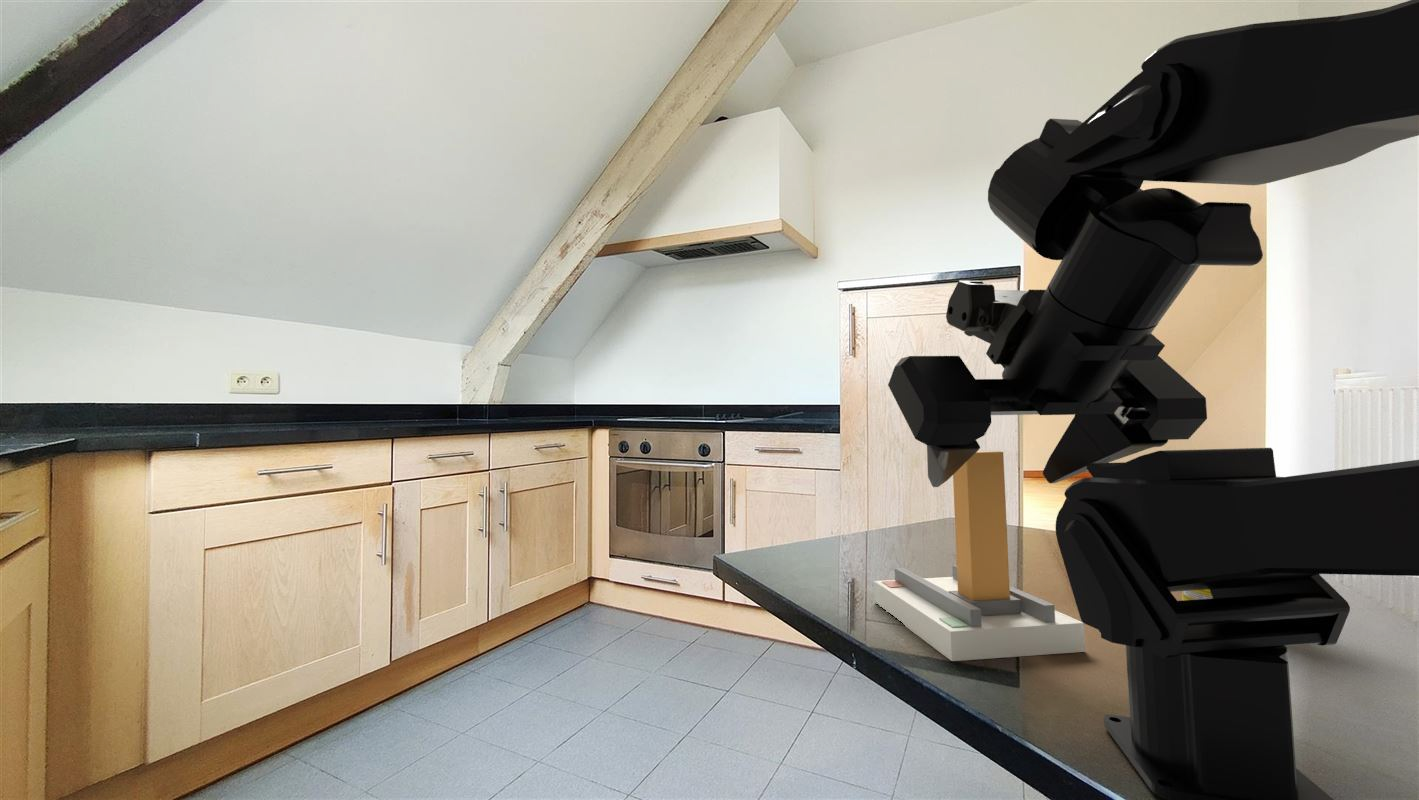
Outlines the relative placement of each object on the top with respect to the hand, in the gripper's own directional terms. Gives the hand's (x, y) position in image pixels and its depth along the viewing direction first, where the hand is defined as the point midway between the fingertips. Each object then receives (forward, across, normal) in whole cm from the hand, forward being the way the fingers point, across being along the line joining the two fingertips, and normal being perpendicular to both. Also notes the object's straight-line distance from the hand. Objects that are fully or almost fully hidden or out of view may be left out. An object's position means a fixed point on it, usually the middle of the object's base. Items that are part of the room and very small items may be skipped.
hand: (990, 480), depth 42 cm
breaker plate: (+11, 0, +6) cm, 13 cm away
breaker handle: (+8, 0, +6) cm, 10 cm away
